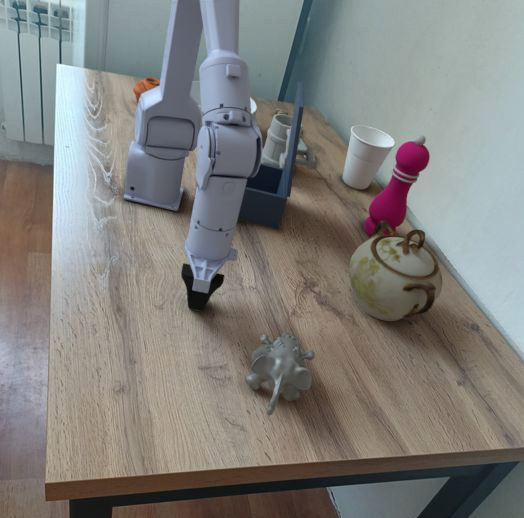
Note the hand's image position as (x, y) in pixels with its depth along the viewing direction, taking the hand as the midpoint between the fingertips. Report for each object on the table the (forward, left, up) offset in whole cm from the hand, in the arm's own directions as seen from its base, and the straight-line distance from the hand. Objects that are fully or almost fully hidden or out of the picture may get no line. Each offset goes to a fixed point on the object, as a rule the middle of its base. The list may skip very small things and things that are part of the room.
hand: (197, 299), depth 77 cm
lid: (+11, +32, +13) cm, 36 cm away
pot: (-18, +65, -2) cm, 67 cm away
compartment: (+5, +32, -1) cm, 32 cm away
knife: (+17, +68, -2) cm, 70 cm away
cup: (+30, +53, -2) cm, 61 cm away
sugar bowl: (+30, +10, -2) cm, 32 cm away
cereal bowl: (-3, +63, -2) cm, 63 cm away
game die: (0, 0, -2) cm, 2 cm away
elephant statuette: (+12, -14, -2) cm, 19 cm away
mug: (+12, +50, -2) cm, 51 cm away
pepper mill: (+33, +34, -2) cm, 47 cm away
